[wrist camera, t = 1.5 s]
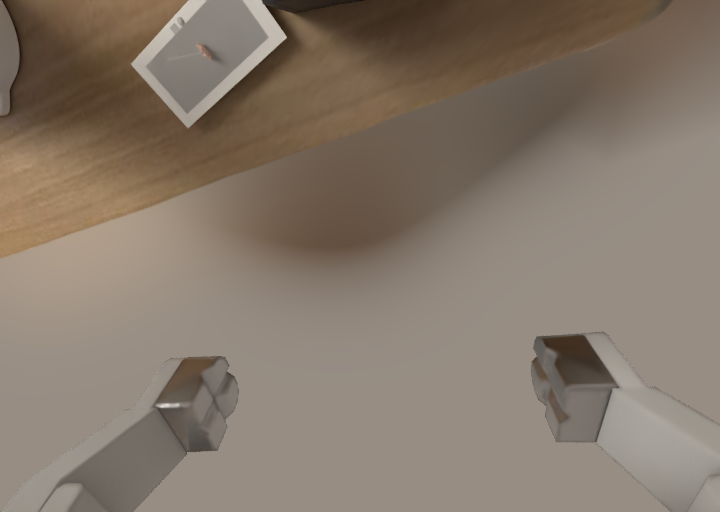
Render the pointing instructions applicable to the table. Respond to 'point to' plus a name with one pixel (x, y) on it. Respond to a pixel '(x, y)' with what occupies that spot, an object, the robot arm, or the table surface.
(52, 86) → the table surface
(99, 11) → the table surface
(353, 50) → the table surface
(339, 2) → the basket
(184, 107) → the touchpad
